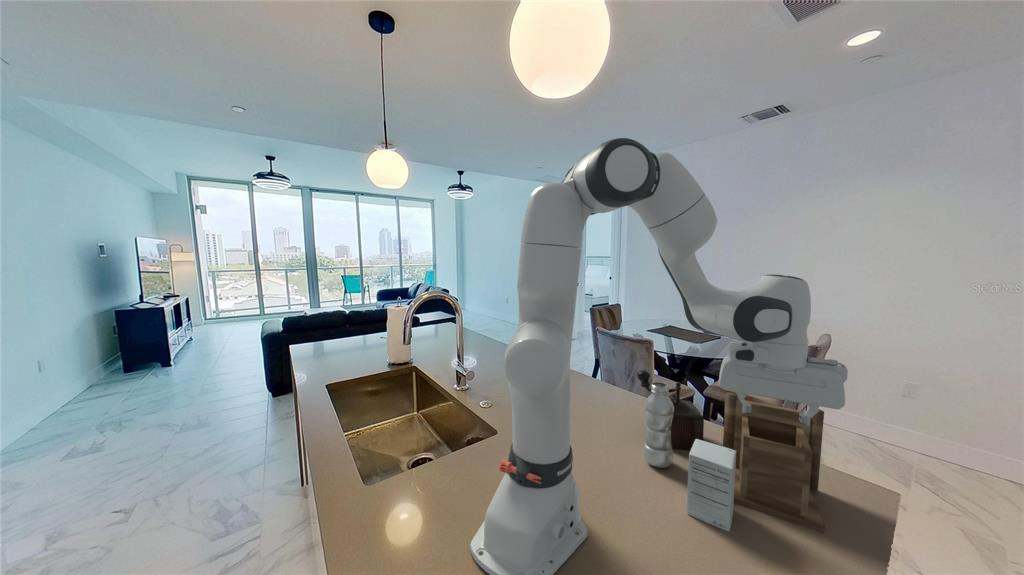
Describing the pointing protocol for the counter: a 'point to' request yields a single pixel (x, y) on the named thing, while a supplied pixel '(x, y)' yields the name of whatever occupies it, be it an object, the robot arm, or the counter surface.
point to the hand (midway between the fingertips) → (774, 418)
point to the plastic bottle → (659, 426)
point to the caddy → (775, 460)
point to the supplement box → (711, 483)
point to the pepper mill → (680, 417)
